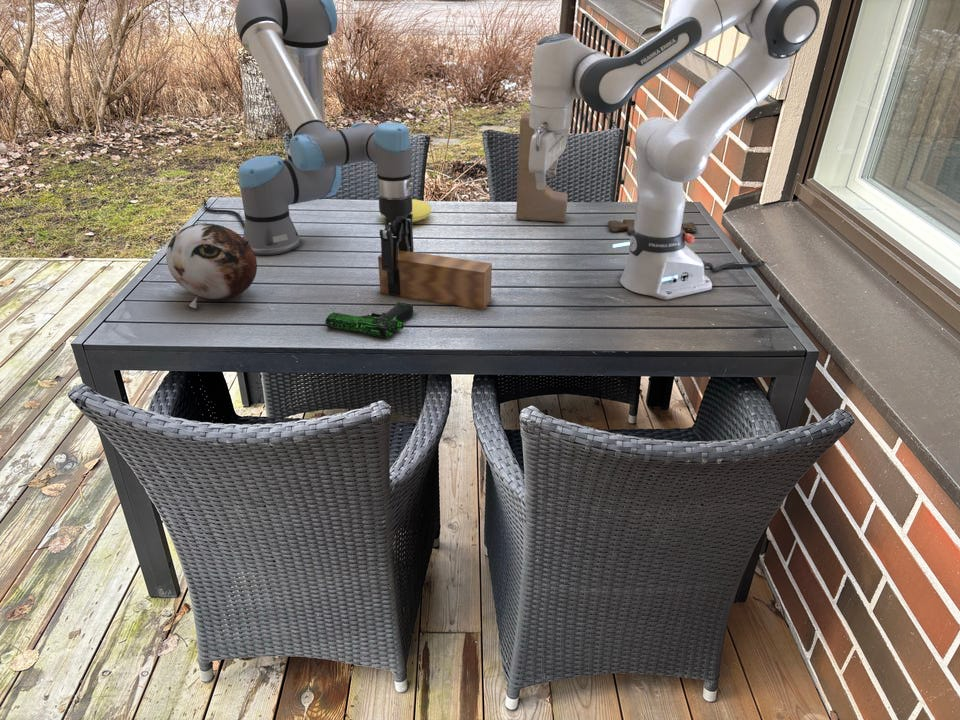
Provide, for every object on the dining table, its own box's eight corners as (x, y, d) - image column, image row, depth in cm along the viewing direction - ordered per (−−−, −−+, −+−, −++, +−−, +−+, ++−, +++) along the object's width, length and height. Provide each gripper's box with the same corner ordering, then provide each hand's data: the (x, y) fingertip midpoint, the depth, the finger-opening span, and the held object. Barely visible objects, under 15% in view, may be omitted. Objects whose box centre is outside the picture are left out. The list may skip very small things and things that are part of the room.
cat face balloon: (130, 285, 161) (164, 203, 163) (192, 308, 177) (221, 233, 178) (195, 307, 151) (229, 220, 152) (254, 330, 166) (285, 250, 168)
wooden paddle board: (699, 237, 207) (691, 225, 216) (700, 231, 206) (692, 220, 215) (610, 234, 207) (606, 222, 216) (611, 228, 207) (607, 217, 215)
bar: (380, 293, 172) (377, 256, 167) (389, 283, 176) (388, 248, 172) (483, 309, 165) (484, 272, 160) (491, 299, 170) (491, 263, 165)
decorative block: (565, 222, 215) (573, 120, 200) (515, 219, 217) (520, 117, 202) (566, 214, 222) (574, 114, 206) (518, 211, 223) (522, 112, 208)
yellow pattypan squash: (403, 206, 226) (402, 184, 222) (442, 217, 218) (442, 194, 215) (368, 220, 215) (367, 197, 211) (408, 231, 207) (407, 208, 203)
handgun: (421, 304, 161) (388, 331, 148) (421, 316, 162) (389, 343, 150) (358, 292, 166) (322, 317, 154) (359, 304, 167) (323, 330, 155)
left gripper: (393, 210, 152) (398, 307, 164) (426, 185, 168) (428, 276, 180) (361, 206, 154) (368, 302, 166) (396, 182, 170) (401, 272, 181)
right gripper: (553, 130, 142) (549, 198, 149) (574, 110, 158) (569, 172, 165) (522, 127, 143) (519, 195, 150) (546, 107, 160) (543, 169, 167)
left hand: (399, 288), depth 173 cm, fingers closed on bar, 6 cm apart
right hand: (546, 182), depth 158 cm, fingers open, 8 cm apart
